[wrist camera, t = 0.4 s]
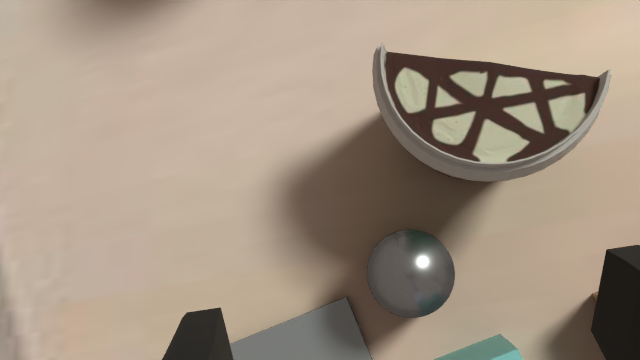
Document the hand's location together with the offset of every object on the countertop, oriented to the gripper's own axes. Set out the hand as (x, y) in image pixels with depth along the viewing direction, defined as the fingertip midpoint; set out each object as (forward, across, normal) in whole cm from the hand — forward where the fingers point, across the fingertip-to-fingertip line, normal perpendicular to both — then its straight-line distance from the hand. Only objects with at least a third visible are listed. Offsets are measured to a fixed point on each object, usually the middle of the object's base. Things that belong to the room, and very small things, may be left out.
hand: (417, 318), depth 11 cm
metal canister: (+21, -5, +17) cm, 27 cm away
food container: (+25, -10, +10) cm, 29 cm away
